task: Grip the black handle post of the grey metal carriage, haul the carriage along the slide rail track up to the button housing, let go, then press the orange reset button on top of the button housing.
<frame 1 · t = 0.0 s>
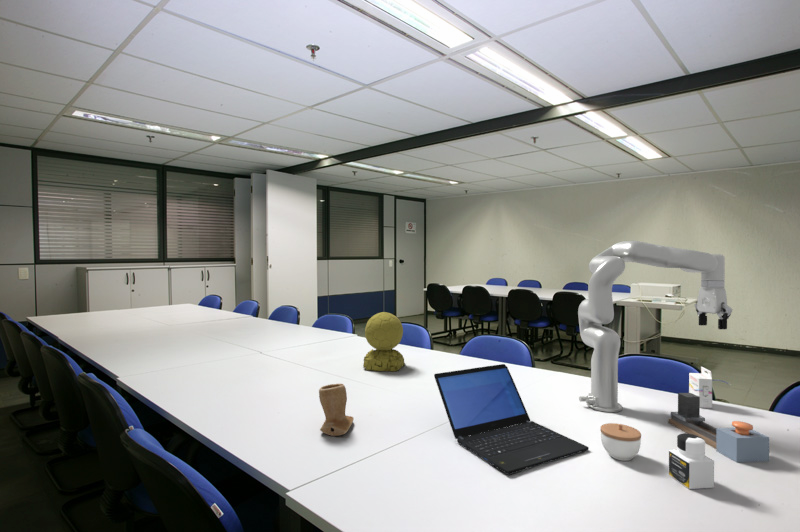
hand: (712, 327, 166), 31 cm above the table, tool pointing down, fingers open, 9 cm apart
tan hollow upright piece: (334, 429, 144), on the table
button housing: (742, 455, 123), on the table
laptop: (506, 440, 135), on the table
ink cartridge box: (700, 405, 166), on the table
lidded jar: (620, 456, 123), on the table
carriage: (688, 408, 144), point 7 cm above the table, slide at 6.5 cm
medicine bottle: (690, 482, 109), on the table
reset button: (742, 430, 123), point 8 cm above the table, slide at 0.0 cm
slide rail track: (703, 435, 137), on the table
trophy: (384, 366, 228), on the table
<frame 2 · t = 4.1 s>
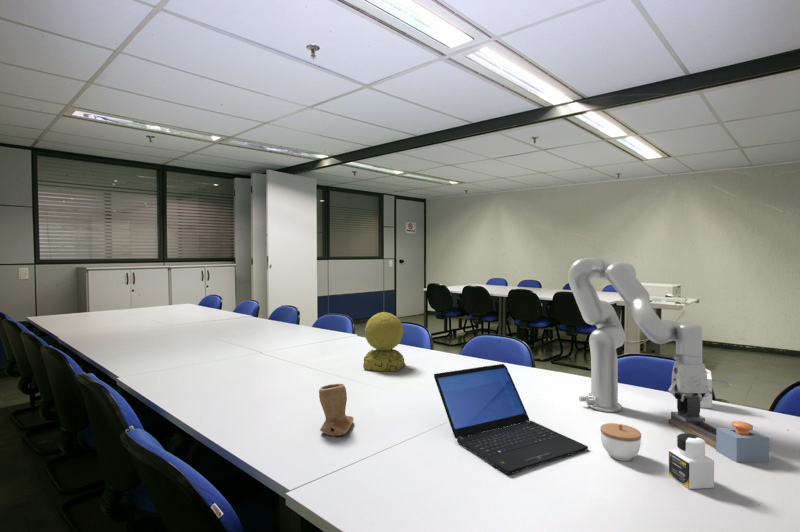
hand: (688, 411, 144), 6 cm above the table, tool pointing down, fingers closed on carriage, 4 cm apart
carriage: (688, 408, 144), point 7 cm above the table, slide at 6.5 cm, touching gripper
everything else where it was.
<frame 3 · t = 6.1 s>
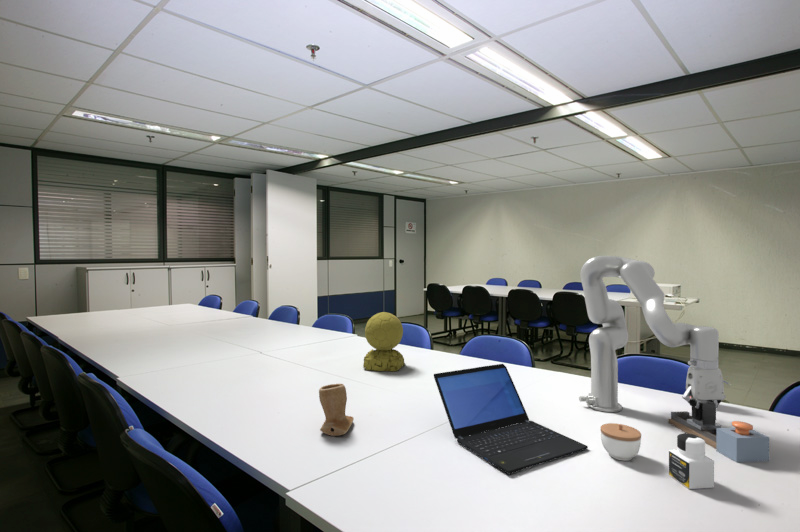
hand: (703, 418, 137), 6 cm above the table, tool pointing down, fingers closed on carriage, 4 cm apart
carriage: (703, 415, 137), point 7 cm above the table, slide at -0.1 cm, touching gripper
everything else where it was.
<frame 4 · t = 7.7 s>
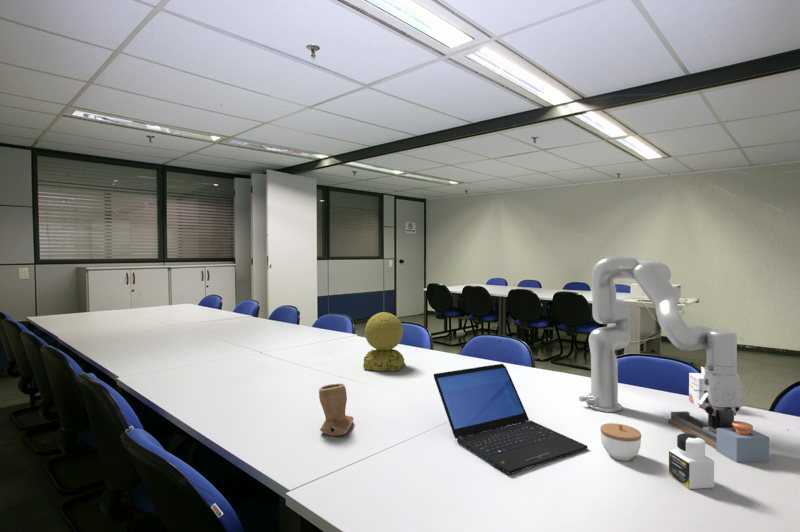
hand: (720, 426, 130), 6 cm above the table, tool pointing down, fingers closed on carriage, 4 cm apart
carriage: (720, 423, 130), point 7 cm above the table, slide at -6.9 cm, touching gripper
everything else where it was.
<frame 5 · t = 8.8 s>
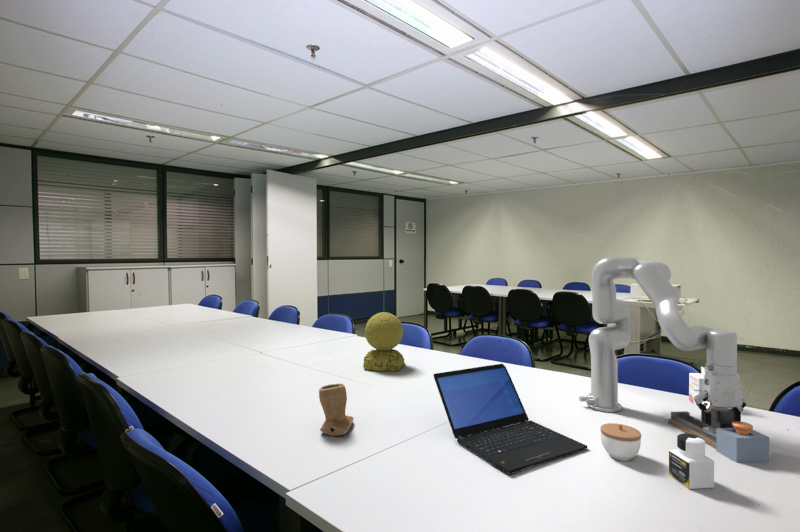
hand: (720, 423, 130), 7 cm above the table, tool pointing down, fingers open, 9 cm apart
carriage: (721, 424, 130), point 7 cm above the table, slide at -7.0 cm
everything else where it was.
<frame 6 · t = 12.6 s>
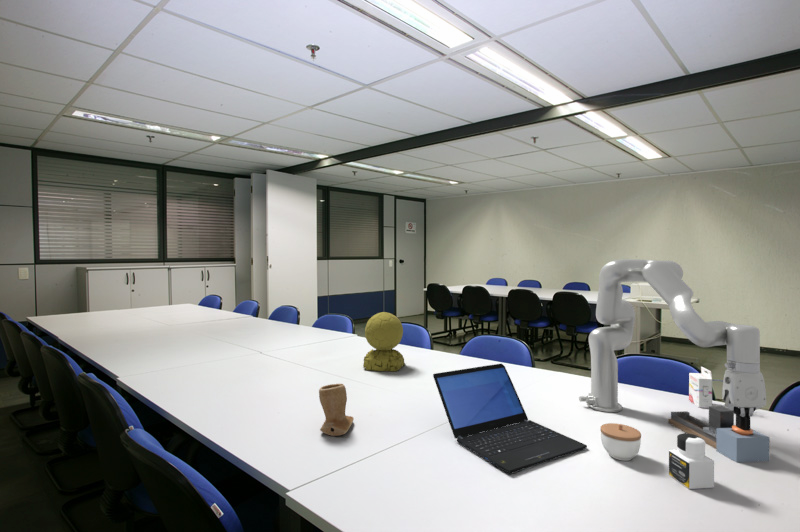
hand: (742, 428, 122), 8 cm above the table, tool pointing down, fingers closed
reset button: (742, 434, 123), point 6 cm above the table, slide at -1.3 cm, touching gripper
everything else where it was.
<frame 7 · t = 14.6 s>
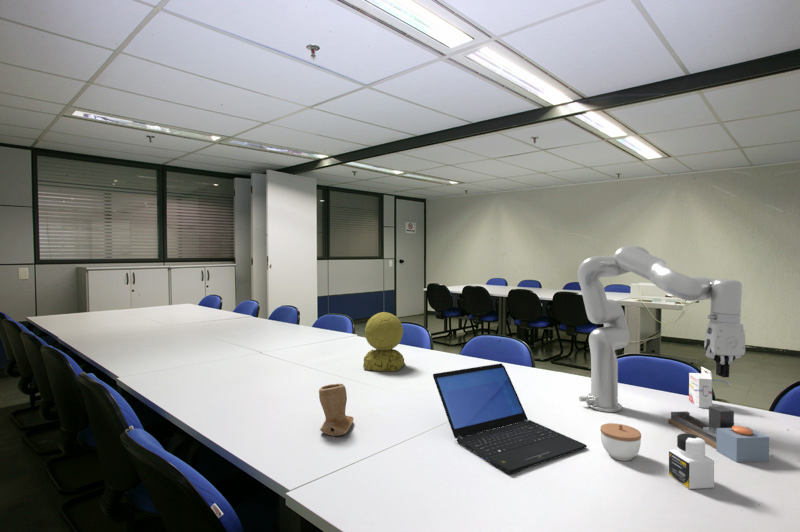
hand: (722, 375, 131), 22 cm above the table, tool pointing down, fingers closed
reset button: (742, 435, 123), point 6 cm above the table, slide at -1.4 cm
everything else where it was.
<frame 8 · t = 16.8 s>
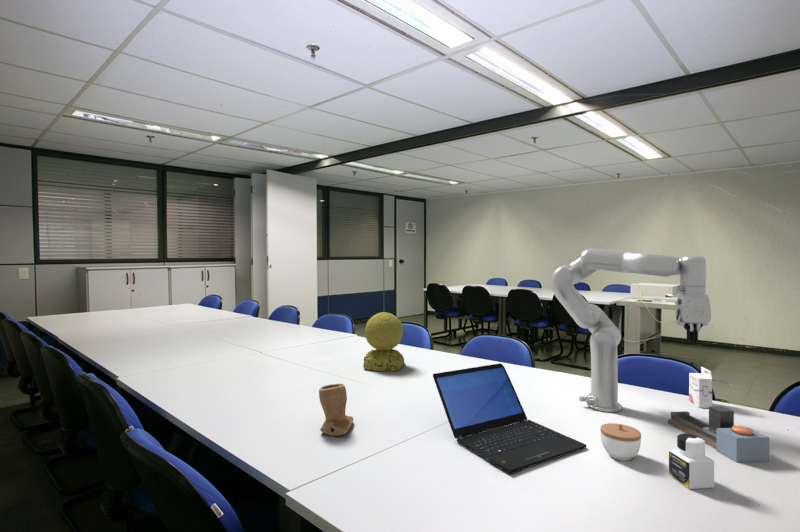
hand: (692, 342, 147), 29 cm above the table, tool pointing down, fingers closed
nothing on the table moved.
at the end: carriage slide at -7.0 cm; reset button slide at -1.4 cm; the gripper is holding nothing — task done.
